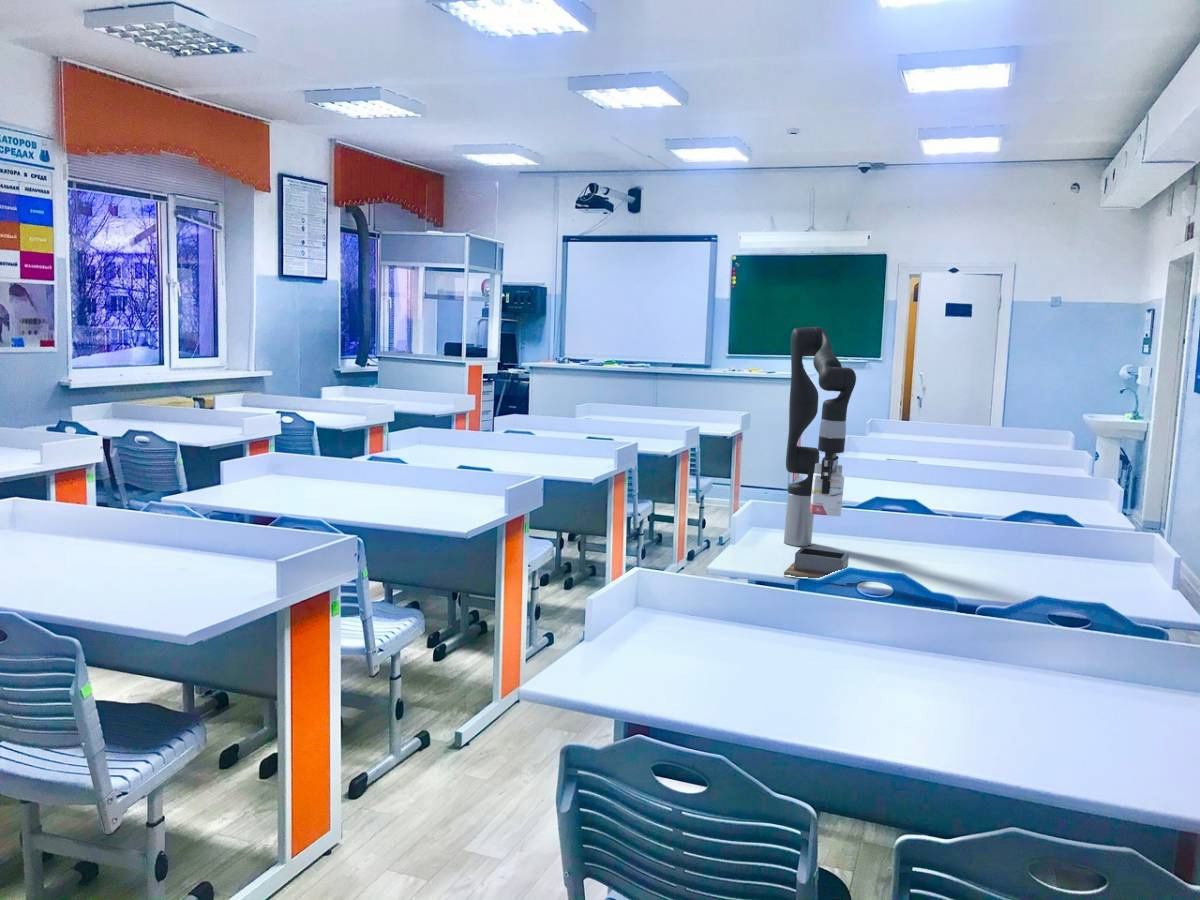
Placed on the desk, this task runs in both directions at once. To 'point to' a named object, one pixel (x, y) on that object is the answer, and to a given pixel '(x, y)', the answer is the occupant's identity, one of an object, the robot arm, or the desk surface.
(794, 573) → the base board
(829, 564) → the sleeve
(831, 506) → the ink cartridge box
